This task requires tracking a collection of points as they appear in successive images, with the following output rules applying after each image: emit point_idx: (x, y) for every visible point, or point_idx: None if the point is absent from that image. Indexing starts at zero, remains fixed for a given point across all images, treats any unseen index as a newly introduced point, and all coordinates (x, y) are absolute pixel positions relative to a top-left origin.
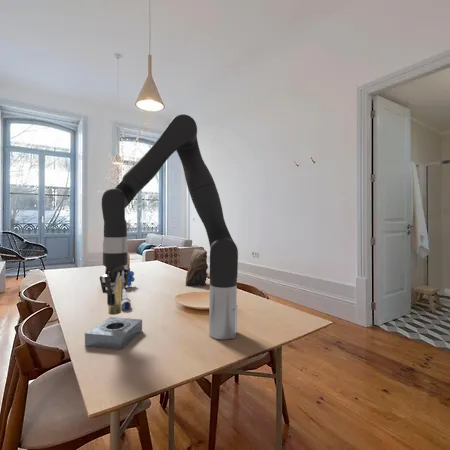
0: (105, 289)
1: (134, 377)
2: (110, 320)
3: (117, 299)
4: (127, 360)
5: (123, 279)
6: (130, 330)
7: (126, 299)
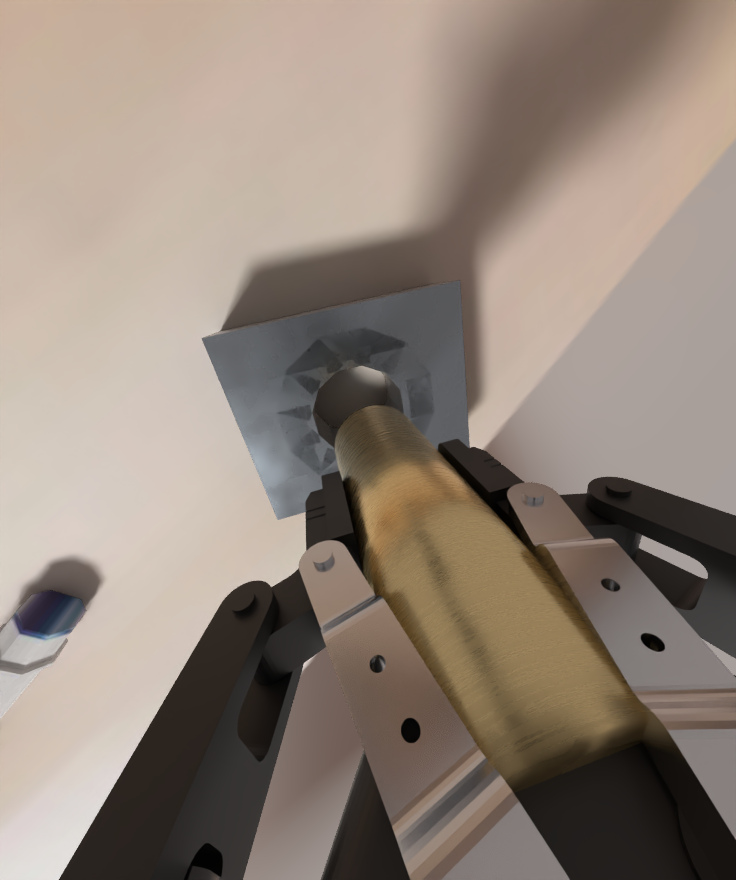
0: (633, 557)
1: (626, 19)
2: (314, 485)
3: (434, 452)
4: (505, 175)
5: (365, 671)
6: (355, 303)
7: (6, 659)
